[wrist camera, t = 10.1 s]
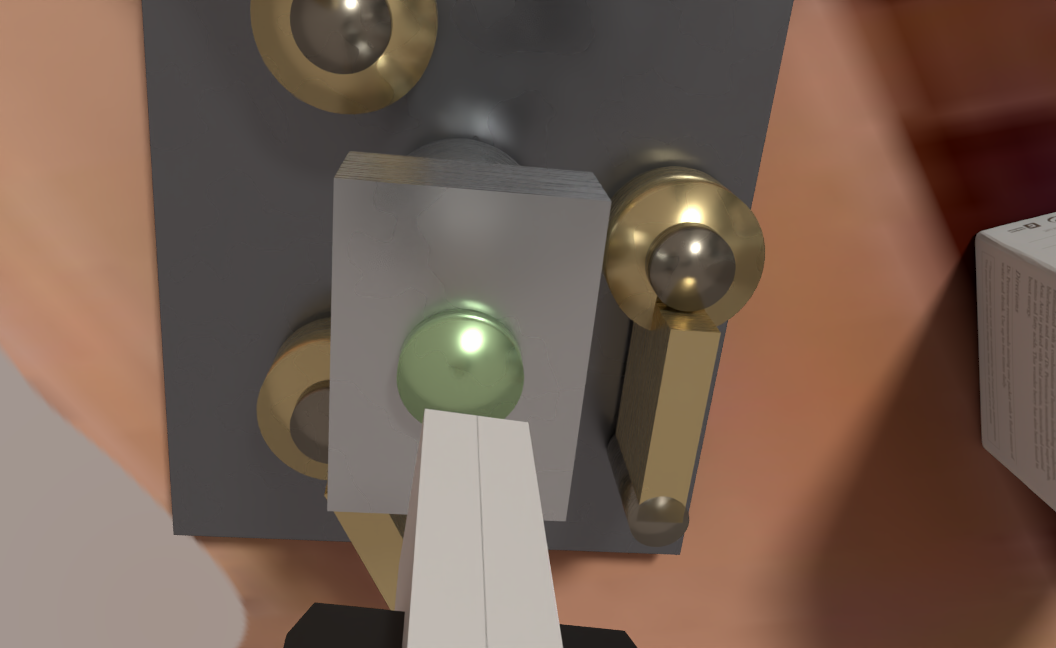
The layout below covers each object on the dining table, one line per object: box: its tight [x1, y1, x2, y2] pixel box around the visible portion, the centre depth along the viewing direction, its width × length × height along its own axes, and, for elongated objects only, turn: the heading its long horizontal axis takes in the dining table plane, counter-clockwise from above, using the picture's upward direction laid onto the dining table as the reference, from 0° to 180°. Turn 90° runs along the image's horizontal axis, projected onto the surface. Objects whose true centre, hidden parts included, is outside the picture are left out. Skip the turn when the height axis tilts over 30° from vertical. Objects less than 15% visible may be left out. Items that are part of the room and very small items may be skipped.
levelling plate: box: [142, 0, 794, 555], centre depth 22 cm, size 24×18×12 cm
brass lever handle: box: [602, 166, 765, 547], centre depth 26 cm, size 11×5×4 cm, turn 174°
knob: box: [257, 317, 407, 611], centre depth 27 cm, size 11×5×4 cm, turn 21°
